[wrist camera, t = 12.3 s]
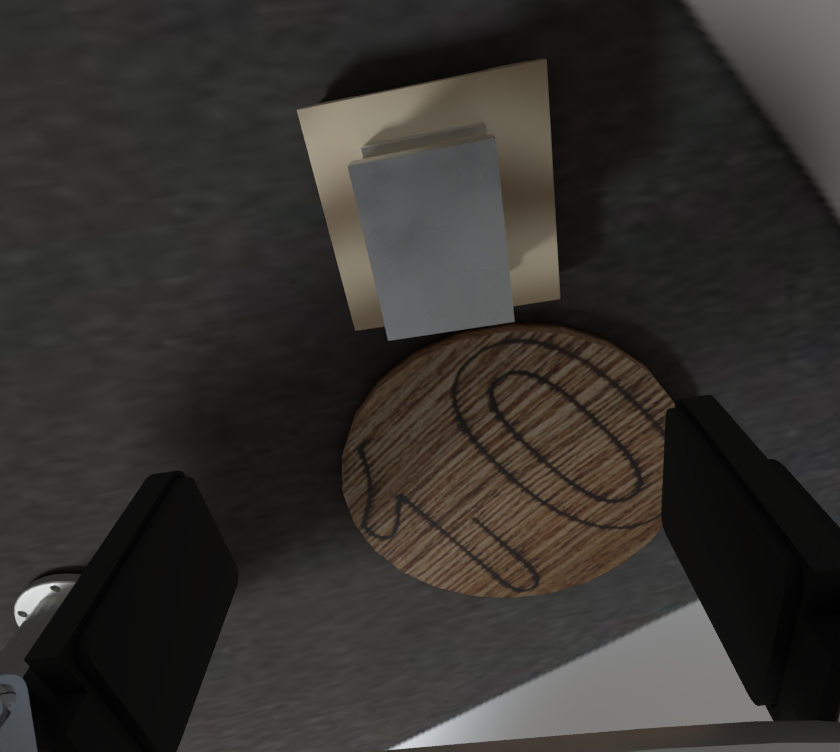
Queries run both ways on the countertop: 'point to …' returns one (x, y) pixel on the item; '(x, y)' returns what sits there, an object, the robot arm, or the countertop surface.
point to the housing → (435, 230)
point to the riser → (431, 111)
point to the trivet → (509, 459)
